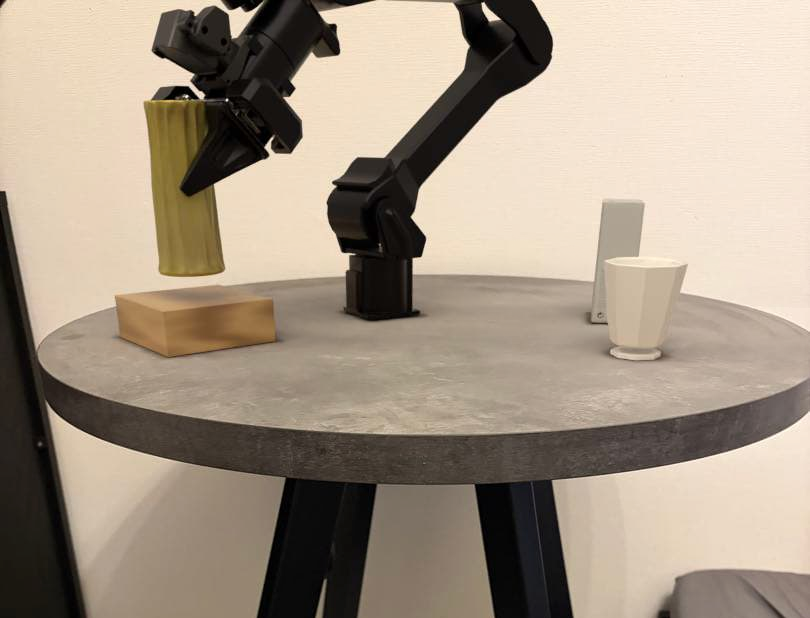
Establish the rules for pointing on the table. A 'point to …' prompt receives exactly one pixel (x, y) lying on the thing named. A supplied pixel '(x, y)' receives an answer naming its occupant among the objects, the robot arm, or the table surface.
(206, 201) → the vase
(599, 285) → the cosmetic box
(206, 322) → the oak block
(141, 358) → the table surface
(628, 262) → the cup
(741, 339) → the table surface
